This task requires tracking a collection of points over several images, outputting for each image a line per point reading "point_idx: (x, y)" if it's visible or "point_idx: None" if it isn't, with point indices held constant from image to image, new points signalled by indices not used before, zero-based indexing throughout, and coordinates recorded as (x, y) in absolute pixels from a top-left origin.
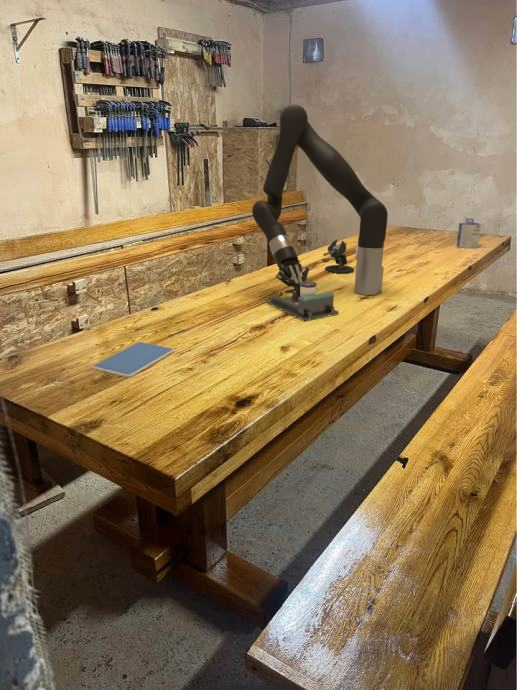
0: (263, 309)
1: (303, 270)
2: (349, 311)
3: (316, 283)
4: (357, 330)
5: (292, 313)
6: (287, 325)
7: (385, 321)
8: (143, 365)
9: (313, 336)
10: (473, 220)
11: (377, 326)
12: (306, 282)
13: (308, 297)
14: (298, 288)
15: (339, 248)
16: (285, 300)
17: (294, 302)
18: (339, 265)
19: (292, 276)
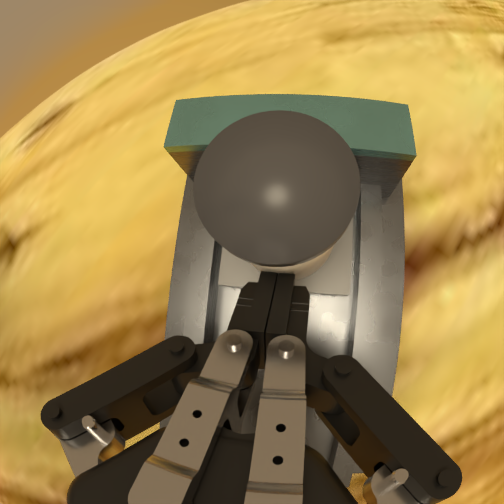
0: (446, 394)
1: (94, 439)
2: (140, 146)
3: (223, 129)
4: (277, 18)
5: (403, 225)
6: (468, 152)
7: (150, 43)
8: None
9: (427, 47)
10: None
11: (202, 22)
12: (276, 202)
13: (361, 115)
14: (294, 314)
15: None
16: (363, 358)
17: None
18: None
19: (303, 416)
